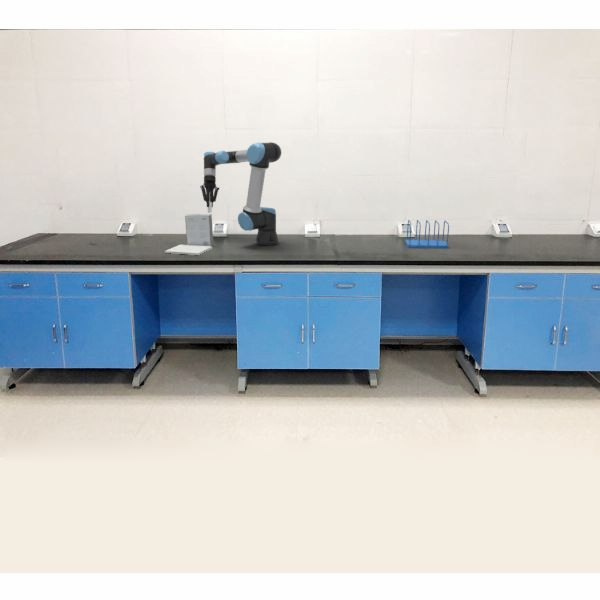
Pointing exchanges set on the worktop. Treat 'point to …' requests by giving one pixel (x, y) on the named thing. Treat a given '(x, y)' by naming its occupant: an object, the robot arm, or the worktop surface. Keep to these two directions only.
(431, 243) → the file sorter
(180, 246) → the white flat square panel
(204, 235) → the hard drive box
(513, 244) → the worktop surface
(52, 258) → the worktop surface
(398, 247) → the worktop surface
